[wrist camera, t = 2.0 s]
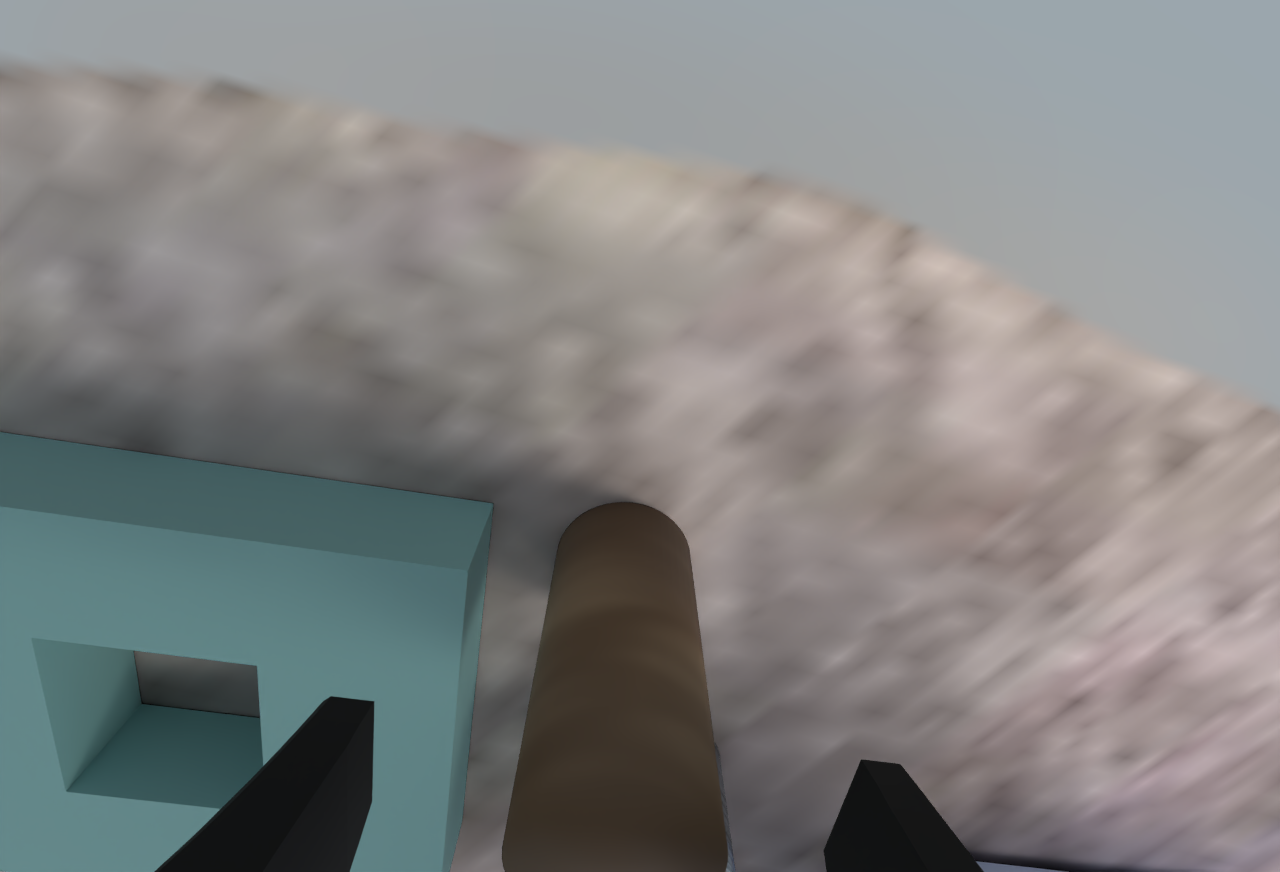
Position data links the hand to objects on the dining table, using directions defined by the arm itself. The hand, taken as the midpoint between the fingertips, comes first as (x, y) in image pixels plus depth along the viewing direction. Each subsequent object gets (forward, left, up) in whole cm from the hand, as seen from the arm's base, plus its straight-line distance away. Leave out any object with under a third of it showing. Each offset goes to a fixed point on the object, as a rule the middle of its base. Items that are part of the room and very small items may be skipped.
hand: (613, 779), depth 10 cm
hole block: (+9, +4, -6) cm, 11 cm away
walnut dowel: (0, 0, -6) cm, 6 cm away
